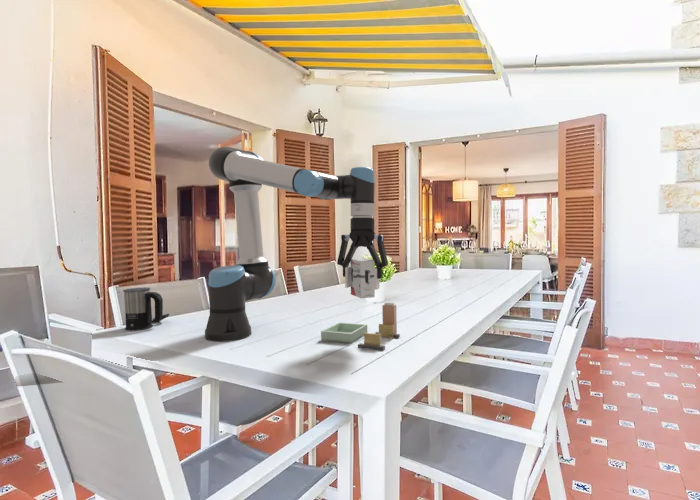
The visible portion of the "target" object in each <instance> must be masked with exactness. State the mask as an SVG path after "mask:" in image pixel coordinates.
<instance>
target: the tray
mask: <svg viewBox="0 0 700 500" xmlns="http://www.w3.org/2000/svg"><path fill="white" fill-rule="evenodd" d="M364 333H368V324H366V323H365V324H363V323H351V322H338V323H335V324H332V325H331V326H329V327H326V328H325V329H323V330H320V339H321V341H323V342H332V343H344V344H353V343H355V342H356V341H358V340H359V339H362V338H364Z"/></svg>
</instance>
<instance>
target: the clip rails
mask: <svg viewBox="0 0 700 500" xmlns="http://www.w3.org/2000/svg"><path fill="white" fill-rule="evenodd" d="M378 332H379V334H375V333H369V332H367V333H364V336H363V341H364V342H363V344H370V345H381V340H382V339H381V338H385V339H387V338H388V339H395V338H394V325H387V324H383V323H378Z"/></svg>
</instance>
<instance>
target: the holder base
mask: <svg viewBox="0 0 700 500" xmlns="http://www.w3.org/2000/svg"><path fill="white" fill-rule="evenodd" d="M374 334H379V331H377V332H374ZM400 337H401V334H400V333H397V334H394V338H393V339H400ZM357 348H358V349H365V350H374V351H385V350H386V346H385V345H370V344H364V343H362V342H361V343H360V342H359V344H357Z"/></svg>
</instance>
